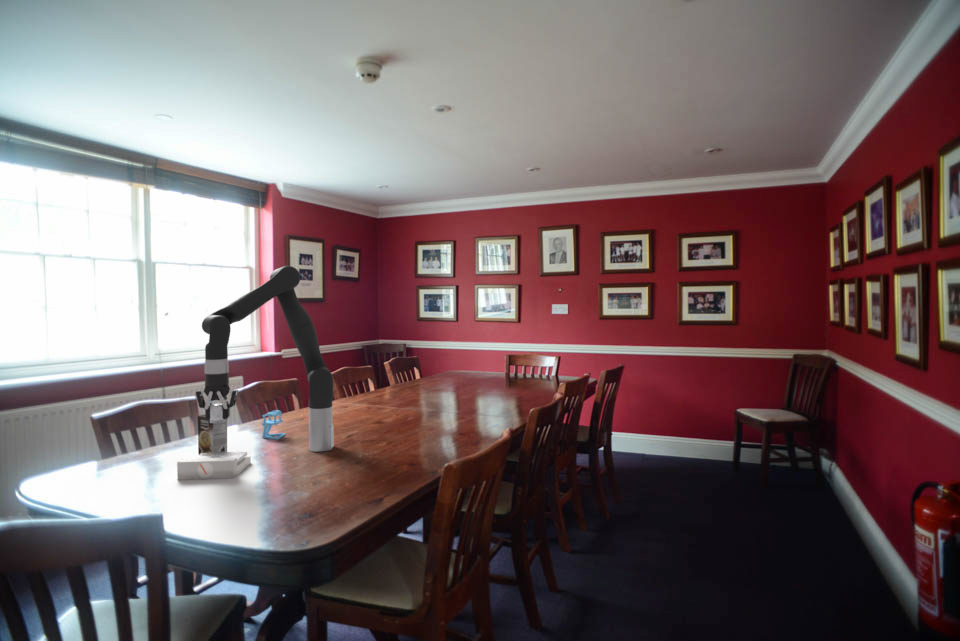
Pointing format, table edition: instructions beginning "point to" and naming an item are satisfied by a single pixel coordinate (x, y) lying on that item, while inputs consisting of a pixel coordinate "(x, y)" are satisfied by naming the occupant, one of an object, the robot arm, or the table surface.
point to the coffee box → (211, 436)
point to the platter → (222, 455)
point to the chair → (270, 423)
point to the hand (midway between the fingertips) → (217, 419)
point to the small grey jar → (216, 413)
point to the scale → (210, 468)
